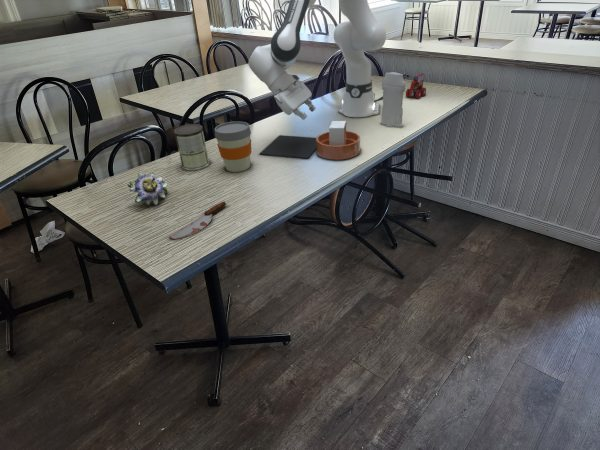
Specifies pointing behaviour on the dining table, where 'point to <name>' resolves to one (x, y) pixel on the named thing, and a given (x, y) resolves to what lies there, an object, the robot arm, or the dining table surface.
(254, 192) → the dining table surface
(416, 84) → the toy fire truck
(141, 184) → the passion flower
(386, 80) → the tall pale column
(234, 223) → the dining table surface
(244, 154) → the reusable coffee cup
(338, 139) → the small box
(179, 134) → the coffee can
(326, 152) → the bowl
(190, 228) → the kitchen knife
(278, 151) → the mat
